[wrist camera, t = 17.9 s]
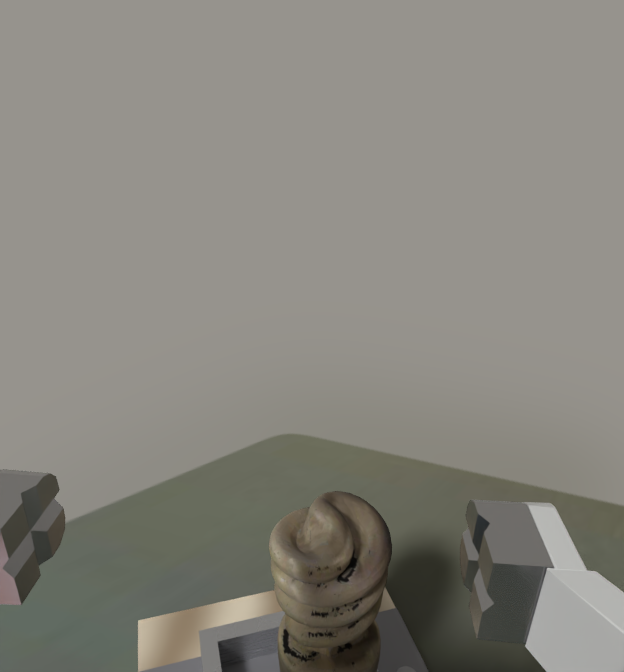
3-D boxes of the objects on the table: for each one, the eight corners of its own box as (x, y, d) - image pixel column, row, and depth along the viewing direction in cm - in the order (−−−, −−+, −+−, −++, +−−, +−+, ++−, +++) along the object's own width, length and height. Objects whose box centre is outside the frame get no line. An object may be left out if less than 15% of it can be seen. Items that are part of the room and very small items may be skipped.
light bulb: (302, 803, 27) (309, 583, 20) (254, 704, 31) (247, 497, 25) (391, 739, 29) (421, 528, 23) (335, 656, 34) (348, 460, 27)
